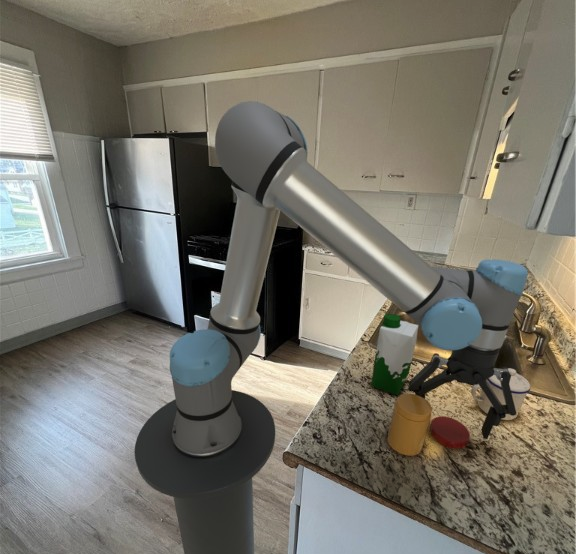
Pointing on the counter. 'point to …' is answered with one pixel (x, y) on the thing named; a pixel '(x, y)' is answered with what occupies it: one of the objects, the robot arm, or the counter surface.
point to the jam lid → (449, 432)
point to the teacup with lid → (517, 387)
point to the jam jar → (409, 424)
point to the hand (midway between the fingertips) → (449, 425)
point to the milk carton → (394, 353)
